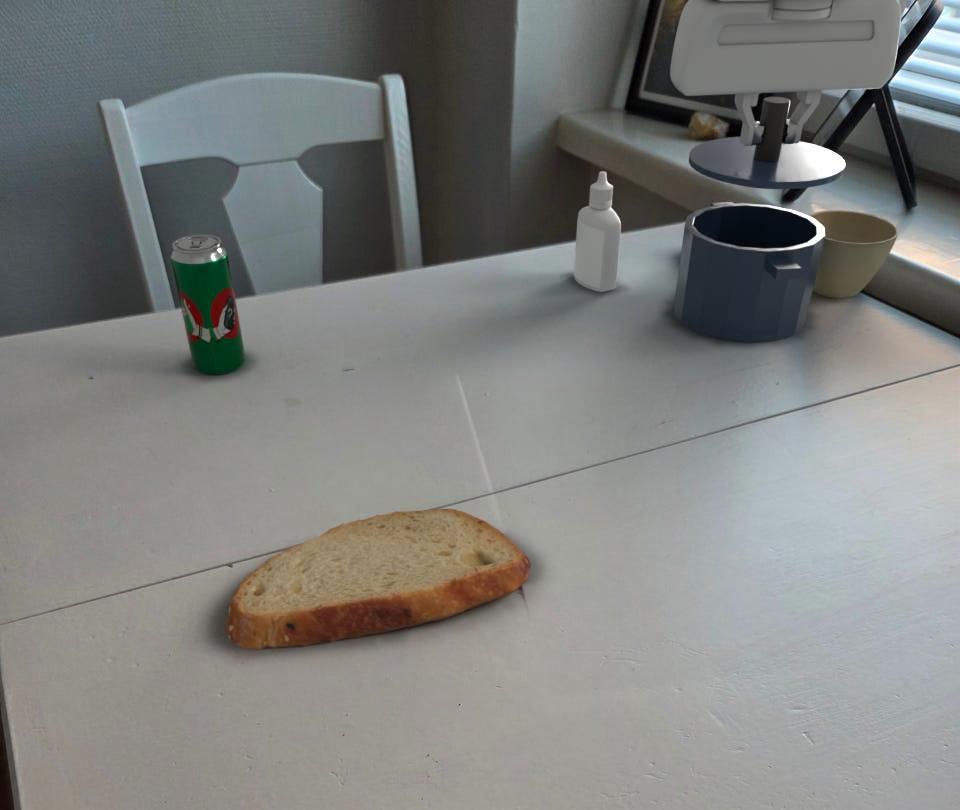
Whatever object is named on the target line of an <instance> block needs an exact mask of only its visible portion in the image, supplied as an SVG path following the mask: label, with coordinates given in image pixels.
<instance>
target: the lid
mask: <svg viewBox="0 0 960 810" xmlns="http://www.w3.org/2000/svg"><path fill="white" fill-rule="evenodd" d="M790 106H791V100H790V99H789V98H786V97H784V96H783V97H782V96H768V97H764V99H763V101H762V106H761V112H760V113H761V114H760V119H759V122H760V124H762V125H764V131H763V134H762V136H761V137H762V142H761V144H760V145H753V146H744V145H743V144H742V143H741V141H740V137H741V136H733V137H731V136H730V137H722V138H717V139H711V140H708V141H704V142H702V143H699V144H697V145H695V146H694V147H692V148H691V150H690V151H689V154H688V164H689V166H690V167H691V168H692V169H693V170H694V171H695V172H697V173H698V174H700V175H702V176H704V177H707V178H710V179H712V180H715V181H718V182H722V183H727V184H730V185H736V186H741V187H745V188H754V189H763V190H794V189H795V190H797V189H806V188H814V187H819V186H823V185H827V184H830V183H833V182H835V181H837V180H840V178H841V177H843V175H844V174H845V170H846V162H845V159H843V157H842V156H841V155H839V154H838V153H836V152H834V151H833V150H831V149H829V148H825V147H823V146H820V145H817V144H815V143H814V144H813V143H810V142H805V141H801V140H800V141H799V143H798V144H782V142H783V137H784V132H785V126H786V121H787V119H788V115H789V110H790Z"/></svg>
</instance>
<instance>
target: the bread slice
mask: <svg viewBox="0 0 960 810" xmlns="http://www.w3.org/2000/svg"><path fill="white" fill-rule="evenodd" d="M531 568H532V563H531V560H530V559H529V557H528V556H527V554H525V553H524V551H522V550H521V549H520V548H519V547H518V546H517V545H516V544H515V543H514V542H513V540H511V539H510V538H509V537H508V536H507V535H505V534H504V533H503V532H502V531H500V530H499V529H498V528H496V527H494V526H493V525H492V524H490V523H488V522H487V521H485V520H483V519H481V518H478V517H477V516H474V515H472V514H469V513H467V512H464V511H462V510H458V509H454V508H435V509H426V510H425V509H424V510H409V511H404V510H403V511H393V512H391V513H390V512H389V513H387V514H386V513H385V514H376V515H374V516H371V517H368V518H365V519H357V520H352V521H350V522H347V523H343V524H342V523H341V524H339V525H338V526H337V525H336V526H334V527H332V528H330V529H329V530H327V531H325V532H324V533H323V534H321V535H320V536H318V537H315V538H311V539H310V540H307V541H305V542H302V543H300V544H297V545H293V546H290V547H289V548H287V549H285V550H283V551H282V552H280V553H277V554H276V555H273V556H272V557H270V558H268V559H267V560H266V561H265V562H263V563H262V564H261V565H260V566H259V567H257V568H256V569H254V570H253V571H252V572H250V573H249V574H247V575H246V576H245V577H244V579H243V580H242V581H241V583H240V584H239V585H238V587H237V588H236V590H235V591H234V594H233V596H232V598H231V599H230V602H229V605H228V611H227V617H226V625H225V632H226V635H227V637H228V639H229V640H230V641H231V642H232V643H233V644H235V645H236V646H237V647H239V648H241V649H245V650H256V651H257V650H263V649H268V648H274V649H279V648H280V649H281V648H289V647H298V648H300V647H301V648H302V647H308V646H311V645H316V644H330V643H333V642H336V641H340V640H343V639H357V638H360V637H363V636H367V635H374V634H383V633H388V632H392V631H393V632H394V631H396V630H399V629H404V628H410V627H416V626H420V625H423V624H425V623H429V622H434V621H435V622H436V621H442V620H445V619H447V618H450V617H453V616H455V615H458V614H460V613H463V612H467V611H471V610H473V609H475V608H477V607H479V606H481V605H483V604H486V603H489V602H492V601H496V600H498V599H501V598H503V597H506V596H508V595H510V594H513V593H514V592H515V591H517V590H518V589H520V588H521V587H522V586H523V584H525V582H527V580H528V578H529V575H530V570H531Z"/></svg>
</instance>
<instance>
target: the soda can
mask: <svg viewBox="0 0 960 810" xmlns="http://www.w3.org/2000/svg"><path fill="white" fill-rule="evenodd" d="M170 262H171V267H172V272H173V277H174V281H175V286H176V290H177V291H176V292H177V295H178V300H179V304H180V305H179V306H180V309H181V314H182V320H183V325H184V329H185V334H186V338H187V343H188V347H189V348H188V349H189V353H190V358H191V362H192V366H193V368H195V370H197V371H198V372H199V373H201V374H204V375H209V376H221V375H222V376H223V375H227V374H231V373H234V372H237V371H238V370H240V369H241V368H242V367H243V366H244V364H245V363H246V359H247V357H246V353H245V346H244V341H243V335H242V329H241V323H240V316H239V312H238V306H237V305H238V304H237V299H236V294H235V288H234V282H233V276H232V272H231V271H232V269H231V266H230V265H231V264H230V259H229V252H228V250H227V249H226V248H225V247H224V246H223V244H222V240H221V238H220V237H218V236H215V235H211V234H191V235H190V234H189V235H187V236H182V237H180V238H178V239H176V240H174V241H173V242H172V252H171V255H170Z"/></svg>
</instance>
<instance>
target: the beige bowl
mask: <svg viewBox="0 0 960 810" xmlns="http://www.w3.org/2000/svg"><path fill="white" fill-rule="evenodd" d="M806 215H807V216H810V217H812V218H814V219H815V220H816V221H818V222H819V223H820V224H821V225H822V226H823V227H824V228H825V239H824V243H823V247H822V252H821V256H820V261H819V265H818V269H817V274H816V278H815V283H814V287H813V292H812V293H815V294H817V295H820V296H823V297H826V298H833V299H848V298H853V297H855V296H857V295H858V294H859V293H860V292H862V290H863V289H864V288H865V287H866V286H867V285H868V284H869V283H870V282H871V281H872V279H873V278H874V277H875V276H876V274H877V273H878V272H879V270H880V269H881V268H882V266H883V264H885V261H886V260H887V258H888V257H889V255H890V253H891V251H892V249H893V247H894V246H895V244H896V240H897V238H898V235H899V232H900V231H899V228H898V227H897V226H896V225H895V224H894V223H893V222H891V221H890V220H889V219H885V218H883V217H880V216H878V215H874V214H870V213H867V212H861V211H854V210H846V209H825V210H819V211H815V212H812V213H811V212H810V213H809V214H806Z"/></svg>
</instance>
